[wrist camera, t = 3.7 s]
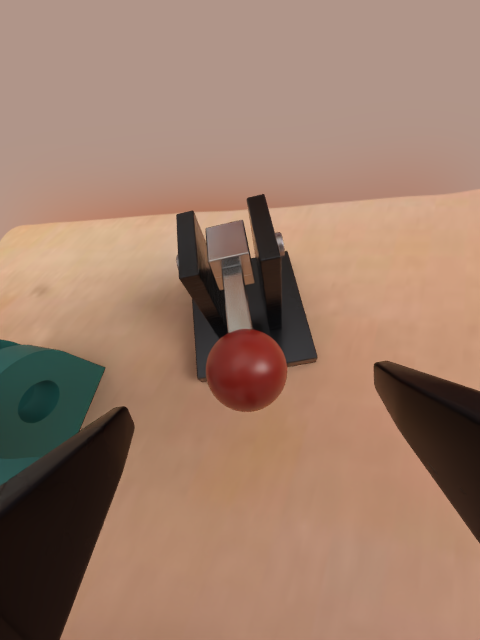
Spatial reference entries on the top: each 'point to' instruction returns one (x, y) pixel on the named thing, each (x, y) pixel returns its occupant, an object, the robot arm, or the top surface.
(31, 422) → the bracket
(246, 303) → the lever
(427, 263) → the top surface
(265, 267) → the bracket
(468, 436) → the robot arm
